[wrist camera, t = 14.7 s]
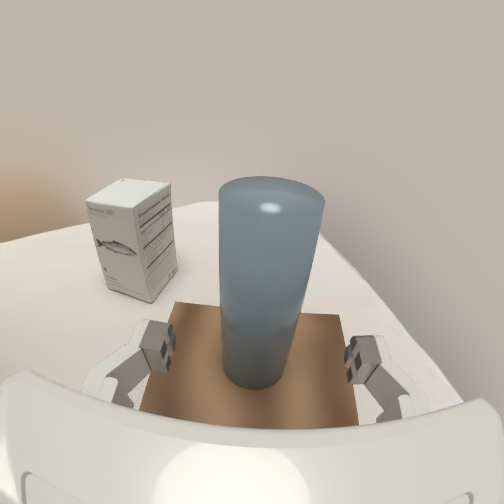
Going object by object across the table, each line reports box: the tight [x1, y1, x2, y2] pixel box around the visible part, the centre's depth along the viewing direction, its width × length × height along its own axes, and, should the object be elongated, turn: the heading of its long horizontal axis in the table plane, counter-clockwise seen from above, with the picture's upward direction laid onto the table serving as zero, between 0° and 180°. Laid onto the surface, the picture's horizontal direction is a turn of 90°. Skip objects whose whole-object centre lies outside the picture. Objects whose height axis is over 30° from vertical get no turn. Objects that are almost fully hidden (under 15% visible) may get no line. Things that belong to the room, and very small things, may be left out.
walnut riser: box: [139, 302, 359, 429], centre depth 22 cm, size 16×12×4 cm
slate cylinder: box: [219, 176, 325, 390], centre depth 17 cm, size 5×5×14 cm
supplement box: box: [85, 179, 177, 303], centre depth 30 cm, size 7×7×13 cm
